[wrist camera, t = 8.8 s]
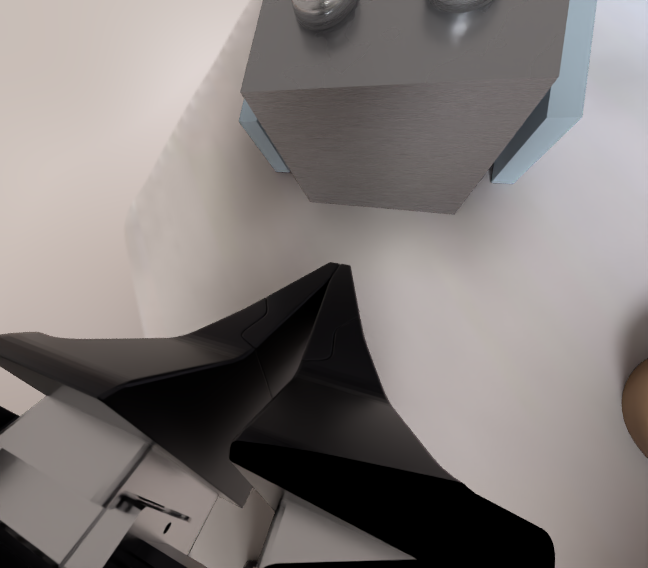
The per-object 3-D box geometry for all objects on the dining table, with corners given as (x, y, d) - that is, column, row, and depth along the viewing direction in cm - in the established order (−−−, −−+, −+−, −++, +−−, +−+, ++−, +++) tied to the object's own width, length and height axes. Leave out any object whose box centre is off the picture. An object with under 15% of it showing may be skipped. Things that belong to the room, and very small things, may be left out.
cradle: (513, 183, 14) (582, 117, 9) (276, 171, 18) (238, 121, 13) (539, 1, 15) (615, -146, 10) (308, 30, 19) (283, -65, 14)
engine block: (454, 214, 15) (584, 42, 5) (310, 202, 17) (226, 70, 8) (484, 34, 16) (640, -385, 6) (343, 48, 18) (303, -234, 9)
